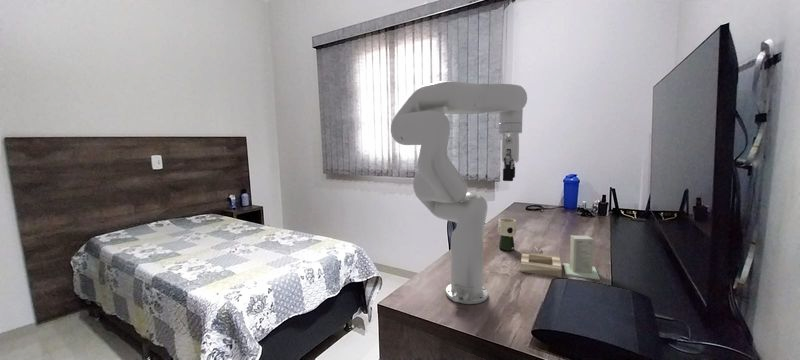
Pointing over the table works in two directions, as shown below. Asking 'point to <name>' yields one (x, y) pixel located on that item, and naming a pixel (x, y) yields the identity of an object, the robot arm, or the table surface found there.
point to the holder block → (541, 264)
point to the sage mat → (581, 274)
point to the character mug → (507, 233)
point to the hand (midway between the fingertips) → (509, 179)
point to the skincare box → (581, 253)
